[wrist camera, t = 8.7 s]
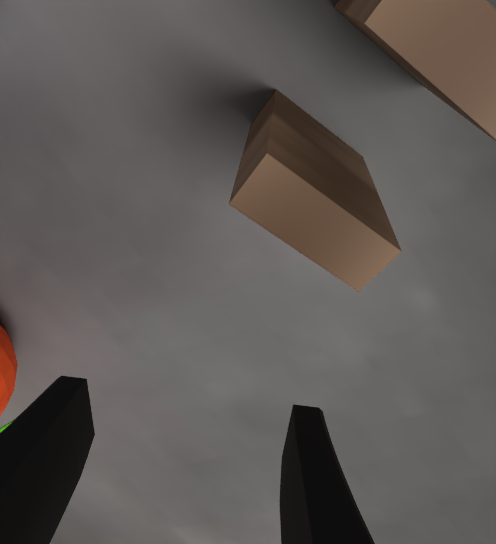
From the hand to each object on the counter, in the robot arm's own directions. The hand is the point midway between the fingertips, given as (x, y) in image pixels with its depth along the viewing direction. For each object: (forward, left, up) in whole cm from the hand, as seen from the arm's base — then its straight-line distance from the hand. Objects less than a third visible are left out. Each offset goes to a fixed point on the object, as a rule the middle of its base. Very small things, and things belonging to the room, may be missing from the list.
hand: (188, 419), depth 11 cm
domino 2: (0, +10, -9) cm, 13 cm away
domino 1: (0, +5, -9) cm, 11 cm away
